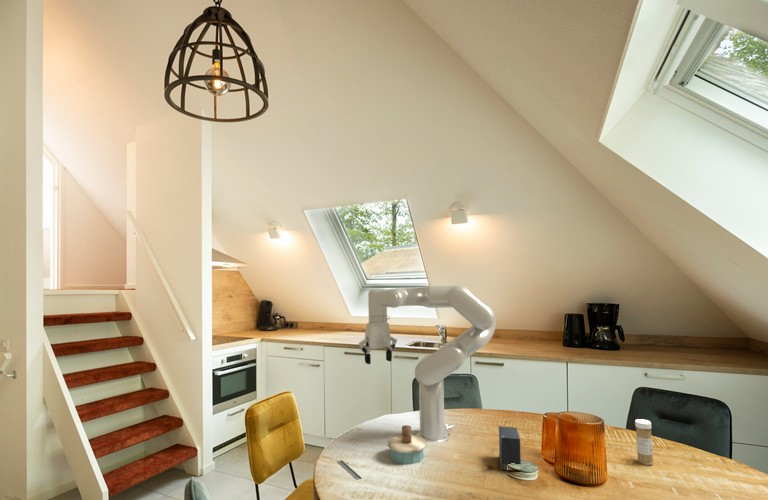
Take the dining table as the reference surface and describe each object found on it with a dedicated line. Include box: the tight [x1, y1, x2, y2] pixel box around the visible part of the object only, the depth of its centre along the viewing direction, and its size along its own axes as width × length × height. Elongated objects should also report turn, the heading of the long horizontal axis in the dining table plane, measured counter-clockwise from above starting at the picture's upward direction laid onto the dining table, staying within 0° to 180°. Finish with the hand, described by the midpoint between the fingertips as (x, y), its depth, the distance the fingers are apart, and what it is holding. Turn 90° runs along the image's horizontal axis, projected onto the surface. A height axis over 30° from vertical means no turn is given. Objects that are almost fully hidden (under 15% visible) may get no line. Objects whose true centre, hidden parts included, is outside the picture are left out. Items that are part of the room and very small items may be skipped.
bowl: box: [390, 449, 424, 465], centre depth 143 cm, size 11×11×5 cm
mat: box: [336, 459, 362, 481], centre depth 139 cm, size 15×15×1 cm
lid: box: [387, 424, 427, 453], centre depth 144 cm, size 13×13×6 cm
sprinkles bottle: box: [634, 418, 654, 466], centre depth 138 cm, size 5×5×14 cm
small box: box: [498, 425, 522, 471], centre depth 139 cm, size 11×6×10 cm, turn 168°
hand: (378, 362), depth 170 cm, fingers open, 9 cm apart
